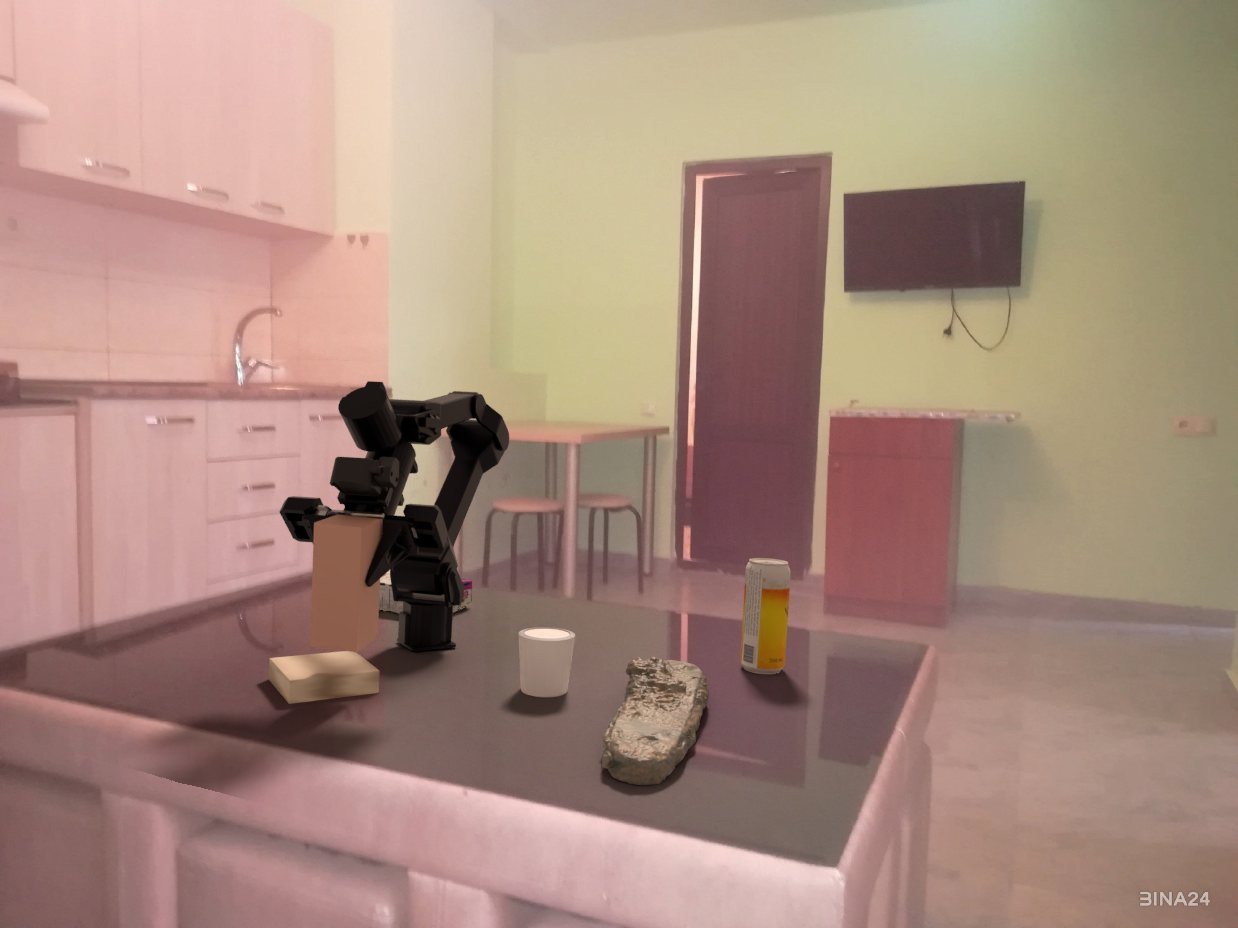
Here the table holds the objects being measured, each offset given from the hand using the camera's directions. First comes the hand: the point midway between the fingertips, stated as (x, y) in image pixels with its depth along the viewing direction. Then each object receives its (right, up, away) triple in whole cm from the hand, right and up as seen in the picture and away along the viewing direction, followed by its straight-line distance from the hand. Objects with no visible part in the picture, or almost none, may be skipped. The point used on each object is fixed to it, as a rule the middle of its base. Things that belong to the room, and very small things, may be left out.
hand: (341, 582), depth 99 cm
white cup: (+22, -14, +8) cm, 27 cm away
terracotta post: (0, -7, +2) cm, 7 cm away
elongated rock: (+35, -16, -2) cm, 39 cm away
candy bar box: (+4, -9, +47) cm, 48 cm away
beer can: (+51, -15, +23) cm, 58 cm away
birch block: (-4, -13, +5) cm, 15 cm away
